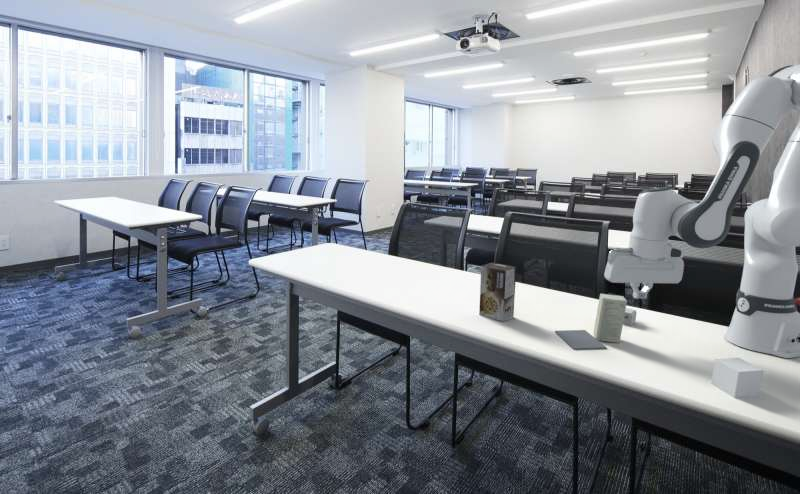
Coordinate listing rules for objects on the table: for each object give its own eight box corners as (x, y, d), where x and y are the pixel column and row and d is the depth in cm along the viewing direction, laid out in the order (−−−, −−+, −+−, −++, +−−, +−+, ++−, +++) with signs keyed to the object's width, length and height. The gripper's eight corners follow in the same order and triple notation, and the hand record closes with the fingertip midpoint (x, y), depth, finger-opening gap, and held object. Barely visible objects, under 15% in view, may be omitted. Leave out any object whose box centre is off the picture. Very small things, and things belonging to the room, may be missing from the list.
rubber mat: (584, 331, 131) (584, 330, 131) (606, 348, 119) (606, 347, 119) (554, 331, 130) (554, 330, 130) (573, 349, 118) (573, 348, 118)
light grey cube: (758, 396, 97) (763, 370, 95) (734, 398, 96) (738, 372, 94) (734, 382, 102) (738, 357, 101) (710, 384, 102) (714, 359, 100)
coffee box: (514, 316, 142) (517, 266, 139) (503, 322, 137) (506, 270, 134) (489, 309, 148) (491, 261, 145) (478, 314, 144) (480, 265, 140)
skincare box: (616, 337, 127) (624, 296, 124) (619, 343, 122) (628, 301, 120) (592, 333, 128) (599, 292, 125) (595, 339, 124) (602, 297, 121)
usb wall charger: (616, 323, 138) (618, 310, 137) (623, 317, 143) (625, 305, 142) (631, 326, 135) (632, 313, 134) (637, 320, 140) (639, 308, 139)
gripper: (616, 250, 117) (609, 301, 120) (691, 251, 119) (682, 302, 122) (603, 245, 123) (597, 293, 126) (674, 246, 125) (666, 294, 128)
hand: (639, 297), depth 124 cm, fingers closed
